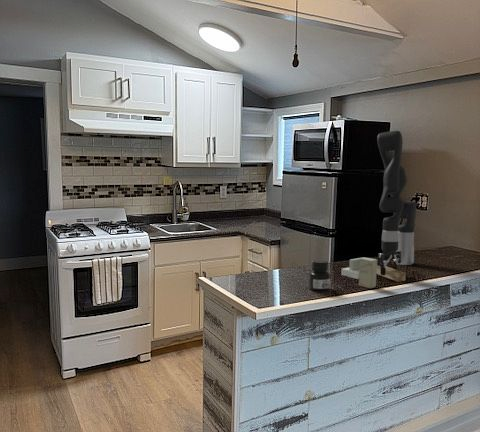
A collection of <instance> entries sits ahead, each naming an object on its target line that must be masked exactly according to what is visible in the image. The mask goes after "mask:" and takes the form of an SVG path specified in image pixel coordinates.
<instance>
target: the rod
mask: <svg viewBox="0 0 480 432" xmlns="http://www.w3.org/2000/svg"><path fill="white" fill-rule="evenodd" d="M385 268H386V274H385V275H381V273H380V272H381V267H380V266H377V274H376V275H379V276H381V277H385V278H387V279H389V280H392V281H395V282H404V281H405V282H406V272H405V271H400V270H395V269H393V267H389V266H386V267H385Z"/></svg>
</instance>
